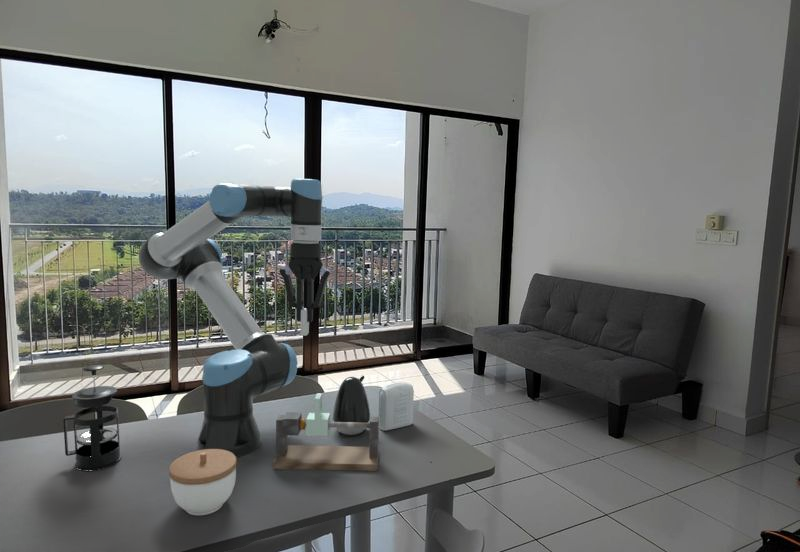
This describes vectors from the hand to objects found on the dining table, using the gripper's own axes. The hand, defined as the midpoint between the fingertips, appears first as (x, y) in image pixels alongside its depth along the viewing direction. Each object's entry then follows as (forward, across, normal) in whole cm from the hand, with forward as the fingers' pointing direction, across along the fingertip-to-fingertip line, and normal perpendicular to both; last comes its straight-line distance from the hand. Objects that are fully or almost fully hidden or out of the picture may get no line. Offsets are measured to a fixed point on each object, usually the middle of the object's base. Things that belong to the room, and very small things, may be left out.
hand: (304, 334), depth 132 cm
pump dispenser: (+28, +12, +6) cm, 31 cm away
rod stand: (+28, +9, -11) cm, 31 cm away
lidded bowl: (+28, -12, -32) cm, 45 cm away
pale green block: (+21, +6, -11) cm, 25 cm away
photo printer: (+28, +24, +10) cm, 38 cm away
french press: (+29, -45, -17) cm, 56 cm away
